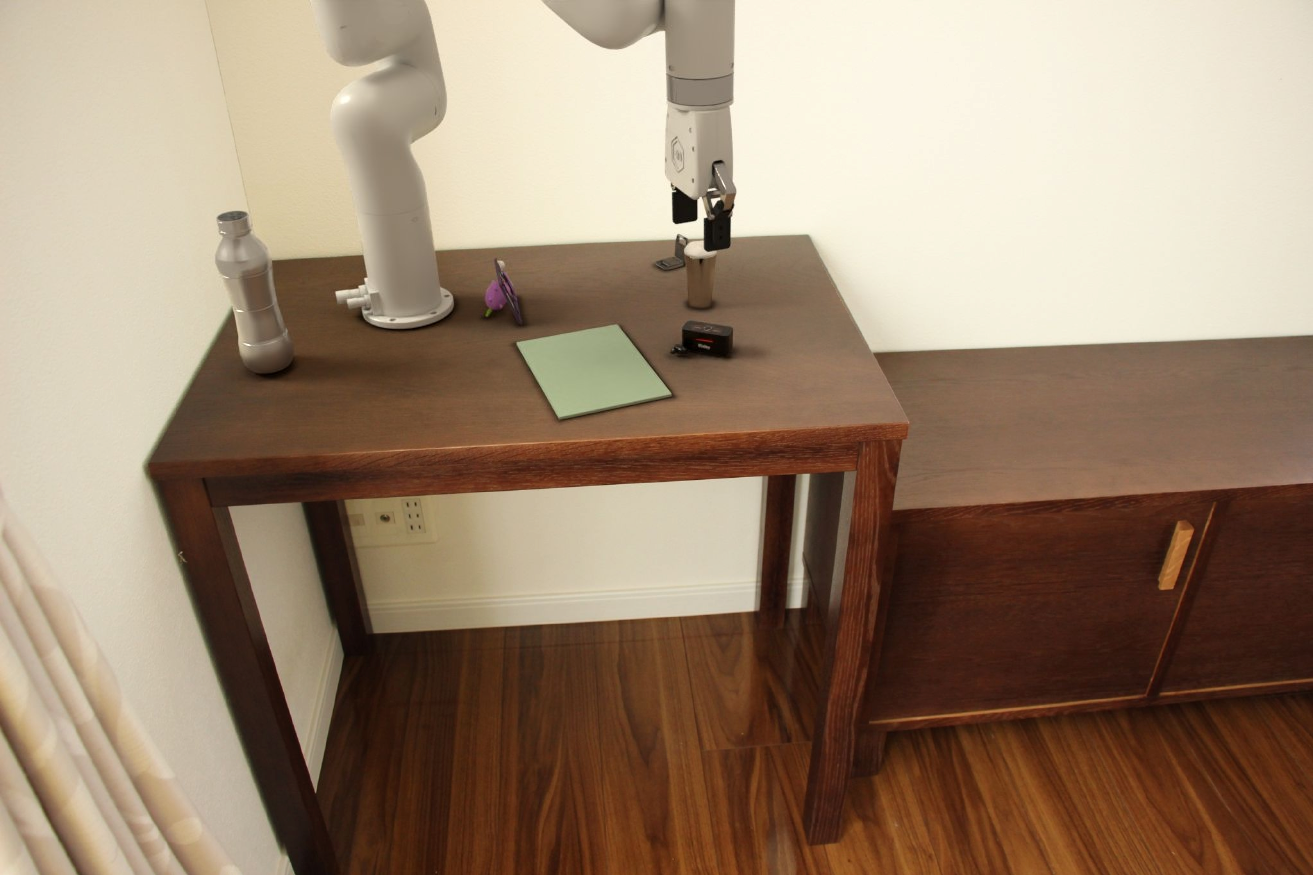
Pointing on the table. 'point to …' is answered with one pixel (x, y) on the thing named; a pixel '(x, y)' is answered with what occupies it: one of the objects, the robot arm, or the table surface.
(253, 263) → the plastic bottle
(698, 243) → the milkshake
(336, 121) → the robot arm
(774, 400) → the table surface
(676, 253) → the strap clip
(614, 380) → the desk mat
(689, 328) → the wireless earbuds
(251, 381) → the table surface
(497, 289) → the purple creature toy frame
